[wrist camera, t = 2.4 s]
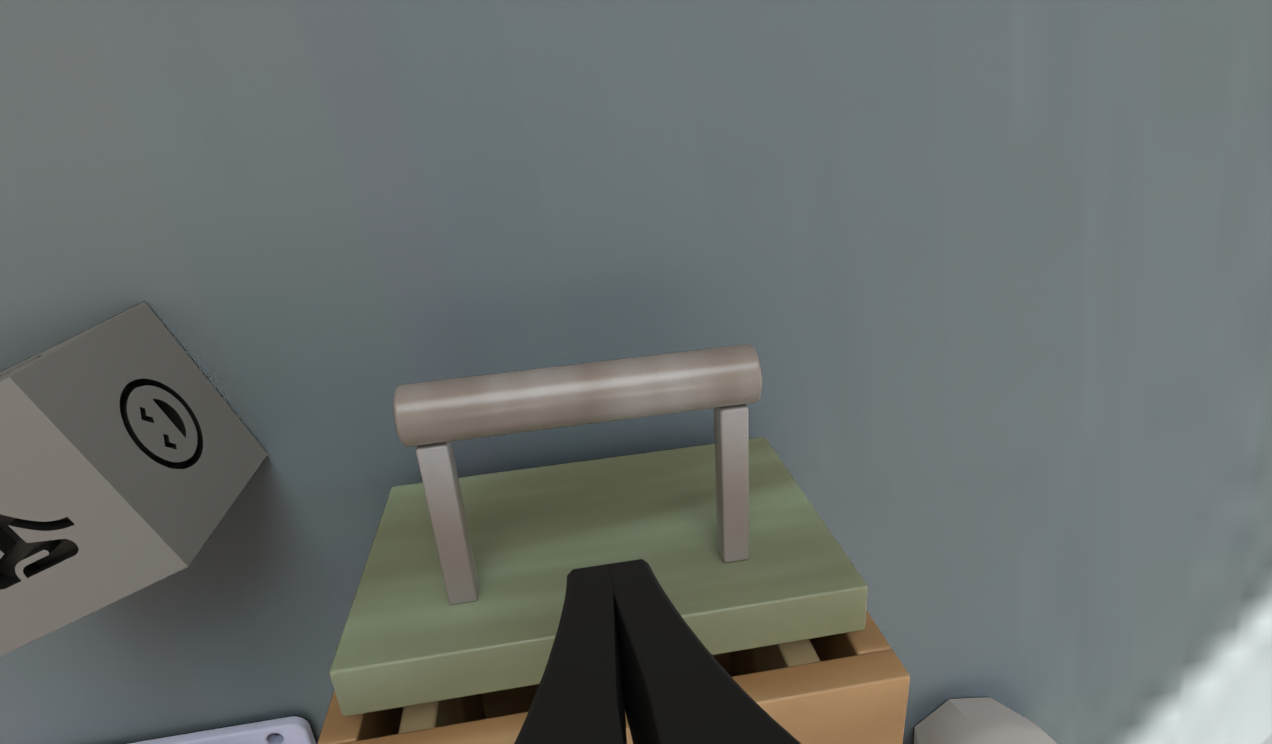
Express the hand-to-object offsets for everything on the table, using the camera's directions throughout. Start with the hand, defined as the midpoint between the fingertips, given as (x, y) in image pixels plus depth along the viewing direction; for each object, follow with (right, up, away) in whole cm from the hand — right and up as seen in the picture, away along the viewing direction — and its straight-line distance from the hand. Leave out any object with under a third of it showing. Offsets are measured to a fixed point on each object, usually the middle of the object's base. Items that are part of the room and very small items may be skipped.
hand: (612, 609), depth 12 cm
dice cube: (-13, +3, +7) cm, 15 cm away
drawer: (-1, -2, +9) cm, 10 cm away
